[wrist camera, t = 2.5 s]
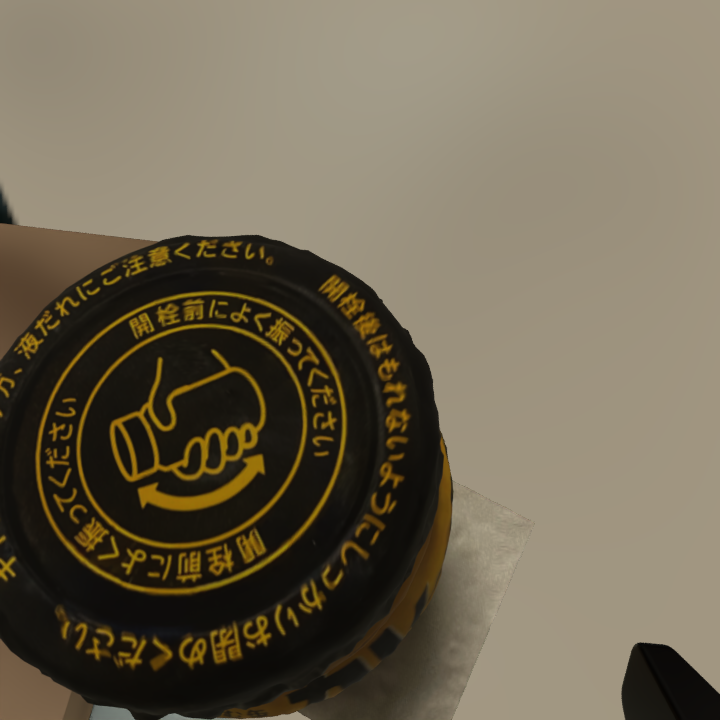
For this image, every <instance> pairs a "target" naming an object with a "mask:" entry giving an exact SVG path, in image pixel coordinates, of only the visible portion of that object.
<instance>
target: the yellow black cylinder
mask: <svg viewBox="0 0 720 720" xmlns="http://www.w3.org/2000/svg"><path fill="white" fill-rule="evenodd" d="M534 524H535V523H534V522H532V521H530V520H528V519H526V518H524V517H522V516H520V515H518V514H517V513H515V512H513V511H511V510H509V509H507V508H506V507H504V506H502V505H499V504H497V503H495V502H493V501H491V500H489V499H487V498H485V497H483V496H482V495H480V494H478V493H477V492H475V491H473V490H471V489H469V488H467V487H465V486H462V485H460V484H458V483H456V482H454V481H452V477H451V472H450V467H449V462H448V456H447V447H446V445H445V443H444V439H443V436H442V433H441V431H440V429H439V417H438V410H437V407H436V404H435V401H434V391H433V379H432V375H431V371H430V368H429V365H428V363H427V361H426V358H425V356H424V355H423V354H422V353H421V352H420V351H419V350H418V349H417V348H416V347H415V345H414V344H413V341H412V338H411V336H410V334H409V331H408V330H406V329H404V328H402V326H401V325H400V324H399V322H398V321H397V320H396V319H395V317H394V316H393V315H392V313H391V312H390V311H389V310H388V309H387V307H386V306H385V305H384V304H383V301H382V300H381V299H379V297H378V296H377V294H376V292H375V291H374V290H373V289H372V288H371V287H369V286H368V285H367V284H365V283H364V282H363V281H362V280H360V279H359V278H357V277H355V276H354V275H353V274H351V273H349V272H348V271H346V270H345V269H343V268H341V267H339V266H337V265H335V264H333V263H330V262H328V261H326V260H324V259H322V258H320V257H319V256H317V255H315V254H313V253H312V252H310V251H308V250H300V249H297V248H295V247H292V246H290V245H288V244H286V243H284V242H281V241H277V240H271V239H268V238H265V237H263V236H259V235H241V236H229V237H203V236H191V235H186V236H180V237H175V238H170V239H165V240H162V241H160V242H157V243H155V244H153V245H150V246H147V247H144V248H141V249H139V250H136V251H133V252H131V253H128V254H126V255H124V256H122V257H120V258H118V259H115V260H113V261H111V262H109V263H107V264H105V265H103V266H101V267H99V268H97V269H96V270H94V271H93V272H91V273H90V274H88V275H86V276H85V277H83V278H82V279H80V280H79V281H77V282H75V283H74V284H72V285H71V286H69V287H68V288H66V289H65V290H64V291H63V292H62V293H61V294H60V295H59V296H58V297H57V298H55V299H54V300H53V301H51V302H50V303H49V304H48V305H47V306H46V307H45V308H44V309H43V310H42V311H41V312H40V314H39V315H38V316H37V317H36V318H35V320H34V321H33V322H32V323H31V324H30V325H29V326H28V328H27V329H26V330H25V331H24V332H23V333H22V334H21V335H20V336H18V337H17V339H16V340H15V342H14V343H13V344H12V346H11V347H10V349H9V350H8V351H7V353H6V354H5V355H4V356H3V358H2V359H1V361H0V639H1V640H2V641H3V642H4V644H5V645H6V646H7V647H8V649H9V650H10V651H11V652H12V653H14V654H15V655H16V656H18V657H19V658H20V659H22V660H23V661H24V662H26V663H28V664H30V665H32V666H34V667H35V668H37V669H39V670H40V672H41V674H43V675H45V676H48V677H50V678H51V679H52V680H53V681H54V682H56V683H58V684H60V685H61V686H64V687H65V688H67V689H69V690H71V691H73V692H75V693H77V694H79V695H81V697H82V698H83V699H84V700H85V701H86V702H87V703H89V704H94V705H100V706H110V707H118V708H125V709H128V710H129V711H130V712H131V714H132V716H133V717H134V719H135V720H159V719H161V718H163V717H164V716H166V715H168V714H172V713H176V714H179V715H182V716H184V717H189V718H201V719H214V718H216V717H217V718H237V719H244V718H262V717H272V716H278V715H281V714H291V713H294V712H296V711H298V712H299V713H301V714H302V715H304V716H306V717H308V718H310V719H311V720H452V718H453V716H454V713H455V711H456V709H457V706H458V704H459V701H460V698H461V696H462V694H463V692H464V689H465V687H466V685H467V682H468V679H469V677H470V675H471V672H472V669H473V667H474V665H475V663H476V660H477V658H478V656H479V654H480V651H481V649H482V647H483V644H484V642H485V639H486V637H487V635H488V632H489V628H490V626H491V624H492V622H493V620H494V618H495V616H496V613H497V611H498V609H499V606H500V604H501V602H502V598H503V597H504V595H505V593H506V590H507V588H508V585H509V583H510V580H511V578H512V575H513V573H514V571H515V568H516V566H517V563H518V561H519V559H520V557H521V555H522V553H523V550H524V548H525V545H526V543H527V541H528V539H529V536H530V533H531V531H532V529H533V527H534Z"/></svg>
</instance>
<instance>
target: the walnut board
mask: <svg viewBox="0 0 720 720" xmlns="http://www.w3.org/2000/svg"><path fill="white" fill-rule="evenodd" d="M155 243H157V241H148V240H140V239H131V238H122V237H114V236H105V235H96V234H87V233H79V232H70V231H62V230H53V229H45V228H35V227H27V226H19V225H10V224H1V223H0V361H1V359H2V358H3V356H4V355H5V354H6V353H7V351H8V350H9V349H10V347H11V346H12V344H13V343H14V342H15V340H16V339H17V337H18V336H20V335H21V334H22V333H23V332H24V331H25V330H26V329H27V328H28V326H29V325H30V324H31V323H32V322H33V321H34V320H35V318H36V317H37V316H38V315H39V314H40V312H41V311H42V310H43V309H44V308H45V307H46V306H47V305H48V304H49V303H50V302H51V301H53V300H54V299H55V298H57V297H58V296H59V295H60V294H61V293H62V292H63V291H64V290H65V289H66V288H68V287H69V286H71V285H72V284H74V283H75V282H77V281H79V280H80V279H82V278H83V277H85V276H86V275H88V274H90V273H91V272H93V271H94V270H96V269H97V268H99V267H101V266H103V265H105V264H107V263H109V262H111V261H113V260H115V259H118V258H120V257H122V256H124V255H126V254H128V253H131V252H133V251H136V250H139V249H141V248H144V247H147V246H150V245H153V244H155ZM92 708H93V704H89V703H87V702H86V701H85V700H84V699H83V698H82V697H81V695H79V694H77V693H75V692H73V691H71V690H69V689H67V688H65V687H64V686H61V685H60V684H58V683H56V682H54V681H53V680H52V679H51V678H50V677H48V676H45V675H43V674H41V672H40V670H39V669H37V668H35V667H34V666H32V665H30V664H28V663H26V662H24V661H23V660H22V659H20V658H19V657H18V656H16V655H15V654H14V653H12V652H11V651H10V650H9V649H8V647H7V646H6V645H5V644H4V642H3V641H2V640H1V639H0V720H89V718H90V714H91V711H92Z"/></svg>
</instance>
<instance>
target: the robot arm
mask: <svg viewBox="0 0 720 720" xmlns="http://www.w3.org/2000/svg"><path fill="white" fill-rule="evenodd" d="M622 705H623V711H624V715H625V720H720V694H719V693H718V692H717V691H716V690H715V689H714V688H713V687H712V686H711V685H710V684H709V683H708V682H707V681H706V680H705V679H704V678H703V677H702V676H701V675H700V674H699V673H698V672H697V671H696V670H695V669H694V668H693V667H692V666H690V665H689V664H688V663H687V662H686V661H685V660H684V659H683V658H682V657H681V656H680V655H679V654H678V653H677V652H676V651H675V650H674V649H672V648H671V647H669V646H667V645H663V644H652V643H637V644H635V645H634V647H633V649H632V651H631V655H630V658H629V662H628V666H627V670H626V673H625V677H624V681H623V685H622Z"/></svg>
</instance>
